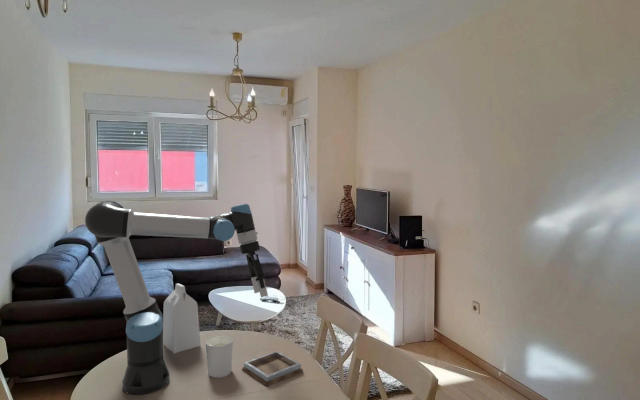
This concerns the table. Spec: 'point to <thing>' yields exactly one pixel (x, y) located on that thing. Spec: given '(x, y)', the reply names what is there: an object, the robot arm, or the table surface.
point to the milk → (180, 321)
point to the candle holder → (219, 356)
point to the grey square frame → (294, 367)
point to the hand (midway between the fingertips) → (261, 294)
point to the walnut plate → (272, 370)
